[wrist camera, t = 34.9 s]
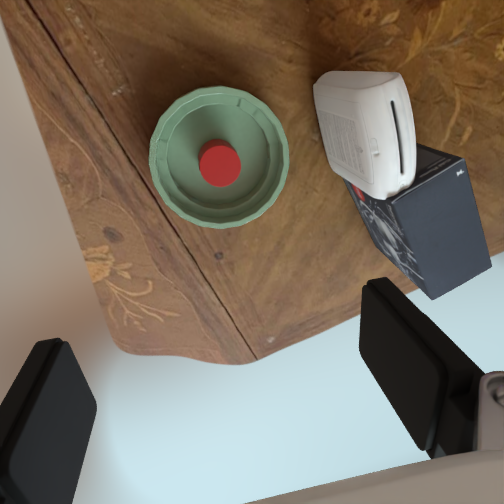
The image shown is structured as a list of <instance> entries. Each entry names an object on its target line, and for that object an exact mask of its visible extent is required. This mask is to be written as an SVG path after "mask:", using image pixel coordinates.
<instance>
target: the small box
mask: <svg viewBox="0 0 504 504" xmlns="http://www.w3.org/2000/svg"><path fill="white" fill-rule="evenodd" d="M342 178H343V177H342ZM343 180H344V182H345V184H346V186H347V188H348V190H349V192H350V194H351V196H352V198H353V200H354V202H355V204H356V206H357V209H358V210H359V213H360V215H361V217H362V219H363V221H364V223H365V225H366V227H367V229H368V231H369V233H370V235H371V237H372V240H373V242H374V244H375V246H376V247H377V248H378V249H379V250H380V251H381V252H382V253H383V254H384V255H385V256H386V257H387V258H388V259H389V260H390V261H391V262H392V263H393V264H395V266H397V267H398V268H399V269H400V270H401V271H402V272H403V273H404V274H405V275H406V276H407V277H408V278H409V279H410V280H411V281H412V282H413V283H414V284H415V285H417V286H418V287H419V288H420V289H421V290H422V291H423V292H424V293H425V294H426V295H427V296H428V297H429V298H430V299H431V300H434V299H436V298H438V297H440V296H442V295H444V294H445V293H447V292H449V291H451V290H452V289H454V288H456V287H458V286H460V285H461V284H463V283H465V282H467V281H468V280H470V279H472V278H473V277H475V276H477V275H479V274H480V273H482V272H484V271H486V270H487V269H489V268H491V267H492V264H491V260H490V256H489V252H488V248H487V244H486V240H485V236H484V232H483V229H482V225H481V221H480V217H479V213H478V209H477V205H476V201H475V197H474V194H473V189H472V186H471V182H470V178H469V174H468V170H467V166H466V162H465V159H464V158H461V157H458V156H454V155H451V154H448V153H445V152H442V151H439V150H436V149H432V148H430V147H426V146H424V145H421V144H418V143H416V173H415V179H414V181H413V183H412V184H411V186H409V187H408V188H406V189H404V190H402V191H400V192H399V193H398V194H396V195H394V196H391V197H387V198H386V200H382V199H376V198H373V197H371V196H370V195H368V194H367V193H365V192H364V191H362V190H361V189H359V188H358V187H357V186H355V185H354V184H352V183H351V182H349V181H348V180H346V179H345V178H343Z"/></svg>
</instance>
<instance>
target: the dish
mask: <svg viewBox="0 0 504 504" xmlns="http://www.w3.org/2000/svg"><path fill="white" fill-rule="evenodd" d="M213 139H222V140H225V141H227V142H229V144H231V146H232V147H234V149H235V150H236V152H237V155H238V156H239V158H240V161H241V171H240V174H239V176H238V178H237V179H236V180H235V181H234V182H233V183H232V184H230V185H228V186H225V187H216V186H213V185H211V184H209V183H208V182H206V181H205V179H204V178H203V177H202V175H201V172H200V170H199V159H198V155H199V152H200V148H201V147H202V146H203V145H204V144H205V143H206V142H208V141H210V140H213ZM149 167H150V171H151V175H152V179H153V183H154V186H155V188H156V189H157V191H158V192H159V194H160V196H161V197H162V199H163V201H164V202H165V203H166V205H167V206H169V207H170V208H171V209H172V210H173V211H174V212H175V213H177V214H178V215H179V216H180V217H182V218H183V219H185V220H188V221H190V222H192V223H194V224H197V225H199V226H202V227H210V228H218V229H220V228H221V229H223V228H229V227H236V226H240V225H243V224H245V223H247V222H249V221H251V220H253V219H255V218H257V217H259V216H260V215H261V214H262V213H263V212H265V211H266V210H267V209H268V208H269V207H270V206H271V205H272V204H273V203H274V202H275V200H276V198H277V197H278V195H279V193H280V192H281V190H282V188H283V187H284V184H285V181H286V177H287V173H288V169H289V146H288V141H287V138H286V136H285V133H284V130H283V127H282V125H281V123H280V121H279V120H278V118H277V117H276V116H275V115H274V113H273V112H272V111H271V110H270V108H269V107H268V106H267V105H266V104H265V103H264V102H262V101H261V100H259V99H257V98H256V97H254V96H253V95H251V94H250V93H248V92H246V91H243V90H239V89H235V88H231V87H226V86H222V85H214V86H206V87H198V88H195V89H193V90H191V91H189V92H187V93H186V94H184V95H182V96H180V97H178V98H177V99H176V100H175V101H174V102H173V103H172V104H171V105H170V106H169V107H168V108H167V109H166V110H165V111H164V112H163V114H162V115H161V117H160V118H159V121H158V123H157V125H156V128H155V130H154V132H153V134H152V137H151V140H150V150H149Z"/></svg>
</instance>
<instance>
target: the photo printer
mask: <svg viewBox="0 0 504 504" xmlns="http://www.w3.org/2000/svg"><path fill="white" fill-rule="evenodd" d="M313 94H314V102H315V107H316V112H317V117H318V121H319V126H320V130H321V135H322V139H323V143H324V147H325V151H326V155H327V158H328V162H329V164H330V166H331V168H332V170H333V171H334V172H336V173H337V174H339V175H340V176H342V177H343V178H345V179H346V180H348V181H349V182H351V183H352V184H354V185H355V186H357V187H358V188H359V189H361V190H362V191H364V192H365V193H367V194H368V195H370V196H371V197H373V198H376V199H382V200H386V198H387V197H391V196H394V195H396V194H398V193H399V192H400V191H402V190H404V189H406V188H408V187H409V186H411V184H412V183H413V181H414V179H415V173H416V137H415V127H414V120H413V113H412V108H411V103H410V99H409V95H408V91H407V88H406V85H405V83H404V81H403V78H402V76H401V74H400V73H397V72H371V71H330V72H327V73H325V74H323V75H322V76H321V77H320V78H319V79H318V80H317V82H316V84H314V85H313Z"/></svg>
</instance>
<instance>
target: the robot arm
mask: <svg viewBox="0 0 504 504" xmlns="http://www.w3.org/2000/svg"><path fill="white" fill-rule="evenodd" d="M359 351H360V354H361V357H362V358H363V360H364V362H365V363H366V365H367V367H368V368H369V369H370V371H371V373H372V374H373V376H374V378H375V379H376V381H377V383H378V384H379V386H380V387H381V389H382V391H383V392H384V394H385V395H386V397H387V399H388V400H389V402H390V403H391V405H392V407H393V408H394V410H395V412H396V413H397V415H398V416H399V418H400V420H401V421H402V423H403V424H404V426H405V428H406V429H407V431H408V432H409V434H410V436H411V437H412V439H413V440H414V442H415V444H416V445H417V447H418V448H419V449H420V450H422V451H424V450H426V452H427V454H428V455H429V457H430V458H431V460H426V461H422V462H417V463H412V464H408V465H404V466H399V467H394V468H390V469H386V470H381V471H377V472H373V473H369V474H365V475H360V476H356V477H352V478H348V479H344V480H340V481H335V482H331V483H328V484H323V485H319V486H314V487H311V488H306V489H302V490H298V491H294V492H290V493H286V494H282V495H277V496H274V497H269V498H265V499H261V500H257V501H253V502H249V503H245V504H504V371H493V372H489V373H486V374H485V373H484V372H483V371H482V370H481V369H480V368H479V367H478V366H477V365H476V364H475V363H474V362H473V361H472V360H471V359H470V358H469V357H468V356H467V355H466V354H465V353H464V352H463V351H462V350H461V349H460V348H459V347H458V346H457V345H456V344H455V343H454V342H453V341H452V340H451V339H450V338H449V337H448V336H447V335H446V334H445V333H444V332H443V331H441V329H440V328H439V327H438V326H437V325H436V324H435V323H434V322H433V321H432V320H431V319H430V318H429V317H428V316H427V315H425V314H424V313H422V312H421V311H420V310H419V309H418V308H417V307H416V306H415V305H414V304H413V303H412V302H411V301H410V300H409V299H408V298H407V297H406V296H405V295H404V294H403V293H402V292H401V291H400V290H399V289H398V288H397V287H396V286H395V285H394V284H393V283H392V282H391V281H390V280H389V279H388V278H387V277H382V278H377V279H371V280H368V282H367V285H364V286H363V288H362V301H361V319H360V337H359ZM96 411H97V404H96V401H95V398H94V396H93V394H92V392H91V390H90V388H89V386H88V383H87V381H86V379H85V377H84V375H83V373H82V371H81V368H80V366H79V364H78V362H77V360H76V358H75V355H74V353H73V351H72V349H71V347H70V345H69V343H68V342H67V341H64V342H63V341H62V340H61V339H60V338H54V339H48V340H43V341H38V342H37V343H36V344H35V345H34V347H33V349H32V350H31V352H30V354H29V356H28V357H27V359H26V361H25V363H24V365H23V366H22V368H21V370H20V372H19V373H18V375H17V377H16V379H15V380H14V382H13V384H12V386H11V388H10V389H9V391H8V393H7V395H6V397H5V398H4V400H3V402H2V403H1V405H0V504H72V502H73V498H74V494H75V491H76V487H77V483H78V479H79V476H80V472H81V468H82V465H83V461H84V457H85V453H86V450H87V446H88V442H89V438H90V435H91V431H92V427H93V423H94V420H95V416H96Z"/></svg>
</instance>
